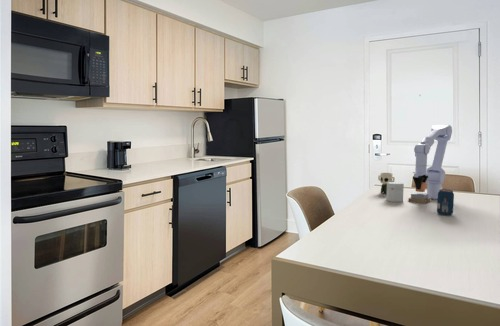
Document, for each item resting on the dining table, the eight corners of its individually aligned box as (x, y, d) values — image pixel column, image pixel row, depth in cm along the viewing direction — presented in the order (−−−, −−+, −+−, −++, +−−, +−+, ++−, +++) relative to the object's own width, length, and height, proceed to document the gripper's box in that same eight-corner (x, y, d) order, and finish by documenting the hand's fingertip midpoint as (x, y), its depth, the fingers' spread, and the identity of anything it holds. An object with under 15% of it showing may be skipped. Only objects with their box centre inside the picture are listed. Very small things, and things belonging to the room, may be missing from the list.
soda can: (447, 212, 178) (448, 189, 177) (456, 216, 171) (457, 191, 170) (433, 212, 178) (435, 189, 176) (441, 216, 171) (443, 191, 170)
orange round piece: (419, 190, 206) (420, 181, 206) (426, 191, 202) (427, 182, 201) (413, 190, 204) (414, 182, 204) (420, 192, 200) (421, 183, 200)
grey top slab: (415, 196, 209) (415, 192, 209) (427, 197, 204) (428, 193, 204) (410, 198, 204) (411, 193, 204) (423, 199, 199) (424, 195, 199)
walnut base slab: (414, 200, 210) (414, 195, 210) (430, 202, 204) (430, 198, 204) (408, 202, 204) (408, 198, 204) (424, 204, 198) (425, 200, 197)
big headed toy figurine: (374, 193, 229) (375, 173, 228) (380, 191, 234) (381, 172, 232) (390, 195, 221) (391, 174, 219) (396, 194, 225) (397, 173, 224)
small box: (400, 199, 209) (400, 182, 207) (403, 201, 203) (404, 183, 202) (386, 199, 209) (386, 181, 208) (388, 201, 204) (389, 183, 203)
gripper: (418, 163, 210) (417, 186, 211) (408, 165, 199) (407, 189, 201) (431, 164, 205) (430, 187, 206) (422, 166, 194) (420, 190, 196)
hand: (420, 188), depth 203 cm, fingers closed on orange round piece, 4 cm apart
